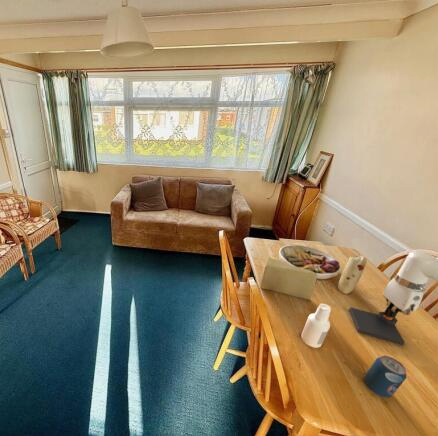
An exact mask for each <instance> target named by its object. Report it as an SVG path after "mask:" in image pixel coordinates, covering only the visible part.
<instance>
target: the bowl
mask: <svg viewBox="0 0 438 436" xmlns="http://www.w3.org/2000/svg"><path fill="white" fill-rule="evenodd" d="M278 257H279V261H281V262H284V263H286V264H289V265H293V266H296V267H299V268H303V269H306V270H310V271H313V272H315V273H316V274H317V278H316V280H327V279H331V278H335V277H336V276H337V275H338V274H339V273H340V271H341V265H340V262H339V261H337V259H336V258H334V257H333V256H331V255H330V254H328V253H326V252H324V251H322V250H320V249H317V248H315V247H310V246H306V245H301V244H288V245H284V246H282V247H281V248H280V249H279V252H278Z"/></svg>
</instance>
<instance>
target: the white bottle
mask: <svg viewBox="0 0 438 436" xmlns="http://www.w3.org/2000/svg"><path fill="white" fill-rule="evenodd" d="M331 312H332V308H331V306H330V305H328V304H326V303H319V306H318V307H317V308H316V310H315V312H314V313H310V314H309V315H308V317H307V319H306V321H305V325H304V326H303V329H302V331H301V335H300V337H301V340H302V342H303V343H304V344H306V345H307V346H309V347H311V348H315V349H316V348H317V349H318V348H321V346H322V345H323V343H324V340H325V339H326V337H327V334H328V332H329V330H330V328H331V322H330V321H329V317H330V315H331Z"/></svg>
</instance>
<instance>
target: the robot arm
mask: <svg viewBox="0 0 438 436" xmlns="http://www.w3.org/2000/svg"><path fill="white" fill-rule="evenodd" d="M429 279H432V280H435V281H437V282H438V257H436V256H434V255H432V254H430V253H427V252H422V251H410V252H409V253H408V255H407V256H406V258H405V260H404V262H403V263H402V265H401V267H400V269H399V271H398V273H397V274H396V276H394V277H393V278H392V279H391V280H390V281H389V282H388V283H387V285H386V286H385V288H384V290H383V292H382V294H383V295H382V296H383V298H384V299H385V300H386V304H385V305H386V309H385V310H384V311H383V312H384V315H386V317H393V318H394V317H395V318H396V316H397V315H398V314H399V313H401V314H402V315H404V316H410V314H411V312H416V311H417V310H418V308H419V306H420V305H421V302H422V300H423V298H424V292H425V291H426V289H425V286H426V285H427V283H428V281H429Z"/></svg>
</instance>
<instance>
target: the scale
mask: <svg viewBox="0 0 438 436" xmlns="http://www.w3.org/2000/svg"><path fill="white" fill-rule="evenodd" d="M348 312H349V315H350V317H351V320H352V322H353V325H354V328H355V330H356V332H357V333H359V334H361V335H365V336H368V337H372V338H375V339H379V340H382V341H385V342H389V343H392V344H395V345H399V346H404V345H405V344H406V342H405V340H404V338H403V337H402V335H401V334H400V331H399V330H398V328H397V326H396V324H397V323H398V318H397V317H396V316H395V317H394V318H393V319H392V320H388V319H386V318H385V317H383V315H384V312H385V311H379V312H378V313H373V312H370V311H366V310H363V309H359V308H355V307H351V306H350V307H349V308H348Z"/></svg>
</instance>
